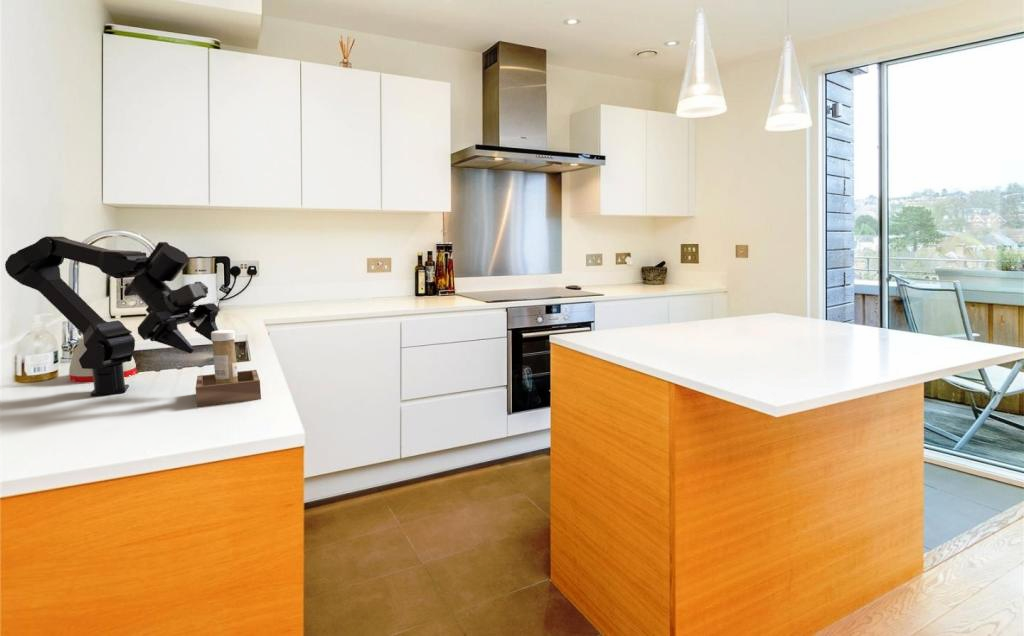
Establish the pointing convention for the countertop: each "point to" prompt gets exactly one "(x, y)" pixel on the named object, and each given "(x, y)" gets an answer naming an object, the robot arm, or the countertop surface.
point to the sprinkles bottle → (224, 356)
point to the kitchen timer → (86, 374)
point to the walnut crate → (227, 389)
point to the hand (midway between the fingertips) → (207, 347)
